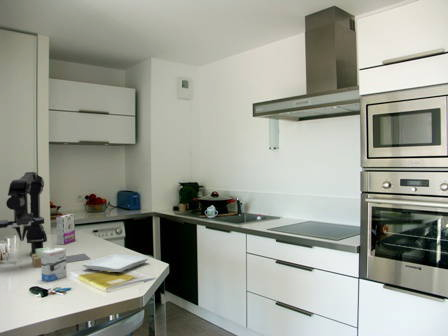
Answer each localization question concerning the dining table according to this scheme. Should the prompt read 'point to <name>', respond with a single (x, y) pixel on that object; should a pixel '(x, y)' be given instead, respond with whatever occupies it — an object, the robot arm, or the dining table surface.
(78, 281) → the dining table surface
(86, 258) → the mat
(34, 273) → the dining table surface
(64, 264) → the ink box
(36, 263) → the deck
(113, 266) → the salad plate
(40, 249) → the sage green tile
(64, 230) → the candy bar box
